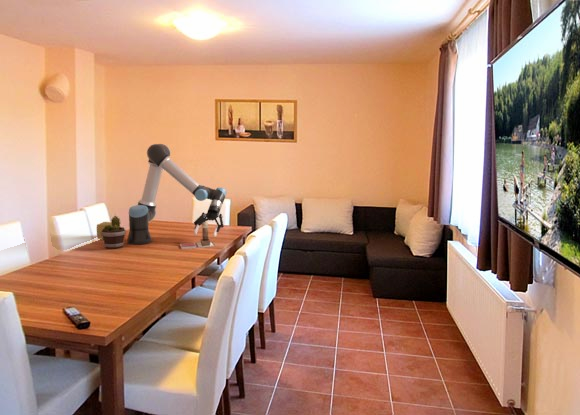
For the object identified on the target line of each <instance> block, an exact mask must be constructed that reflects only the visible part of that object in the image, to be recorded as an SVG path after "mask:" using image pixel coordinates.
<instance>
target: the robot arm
mask: <svg viewBox="0 0 580 415" xmlns="http://www.w3.org/2000/svg"><path fill="white" fill-rule="evenodd" d="M146 155H147V158H148V164H149V166H148V172H147V174H146V175H147V176H146V180H145V184H144V187H143V190H142V191H143V192H142V196H141V199H140V200H138V202H137V205H132V206H130V207H129V209H128V221H129V222H128V223H129V224H128V226H129V227H128V228H129V232H128V235H127V238H126V243H127V244H129V245H132V246H133V245H134V246H135V245H147V244H151V243H152V242H153V239H152V237H151V236H152V235H151V232H150V230H149V222H151V221H152V220H153V219H155V216H156V213H157V212H156V211H157V210H156V208H157V204H156V203H155V202H156V197H157V194H158V190H159V185H160V182H161V177H162V173H163V170H164V171H166V173H168V174H169V176H171V177H172V178H174V180H175V181H176V182H178V184H180V185H182V186H183V187H184V188H185V189H186V190H187V191H189V192H190V193H191V194H192V195H193V196H194V198H195V199H196V200H197V201H199V202H203V201H206V200H209V201H211V202H210V203H209V207H208V209H207V212H206V213H205V212H201V215H200V216H199V217H197V219H196V220H195V221H193V224H194V232H193V234H194V235H195V236H197V234H198V232H199V229H200V226H202V223H203V222H208V221H215V224H216V225H215V230H214V231H213V236H214V237H217V235H218V233H219V232H220V230H221V228H222V229H223V228H224V227H225V226H224V221H223V217H224V216H223V214H222V213H221V209H222V207H223V204H224V201H225V199H226V195H227V191H226V189H225V188H223V187H217V188H216V189H214V188H211V187H208V186H205V185H202V184H200V183H198V182H197V181H196V180H195V179H194V178H193V177H191V175H189V174H188V173H187V172H186V171H185V170H184V169H182V167H180V166H179V165H178V164H177V163H175V162H174V161H173V160H172V159H171V158H170V157H171V150H170V148H169V147H168V146H167V145H165V144H162V143H153V144H151V145H149V147H148V148H147V150H146ZM217 218H219V221H218V220H217Z"/></svg>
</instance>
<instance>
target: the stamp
mask: <svg viewBox="0 0 580 415" xmlns="http://www.w3.org/2000/svg"><path fill="white" fill-rule="evenodd" d="M209 226H210V223H208V221H205V222H203V223H202V224H201V228H202V233H201V234H202V238H200V243H201V244H202V246H208V245H210V242H211V240H210V239H209Z"/></svg>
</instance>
